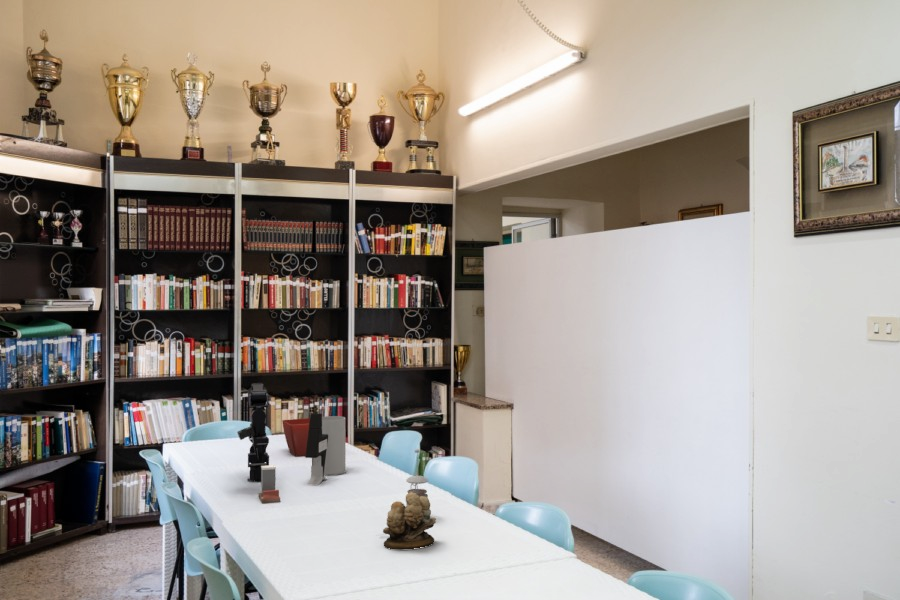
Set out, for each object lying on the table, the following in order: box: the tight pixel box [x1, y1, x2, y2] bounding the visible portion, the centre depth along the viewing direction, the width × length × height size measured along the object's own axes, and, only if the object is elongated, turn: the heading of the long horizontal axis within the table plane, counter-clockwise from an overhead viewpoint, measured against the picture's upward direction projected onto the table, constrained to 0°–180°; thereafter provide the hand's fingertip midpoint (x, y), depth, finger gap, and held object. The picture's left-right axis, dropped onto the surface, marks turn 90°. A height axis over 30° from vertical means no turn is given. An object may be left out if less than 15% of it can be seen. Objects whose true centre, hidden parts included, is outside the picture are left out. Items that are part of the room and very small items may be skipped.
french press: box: [405, 448, 429, 506], centre depth 292 cm, size 10×12×25 cm
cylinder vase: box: [322, 415, 346, 476], centre depth 366 cm, size 12×12×25 cm
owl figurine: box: [382, 492, 437, 550], centre depth 260 cm, size 18×12×17 cm, turn 116°
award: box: [304, 412, 328, 486], centre depth 347 cm, size 15×5×30 cm, turn 168°
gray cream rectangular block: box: [260, 464, 277, 495], centre depth 320 cm, size 4×5×11 cm
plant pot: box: [281, 417, 310, 457], centre depth 411 cm, size 19×19×17 cm
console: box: [258, 489, 281, 504], centre depth 317 cm, size 11×7×4 cm, turn 21°
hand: (258, 458), depth 333 cm, fingers open, 9 cm apart
